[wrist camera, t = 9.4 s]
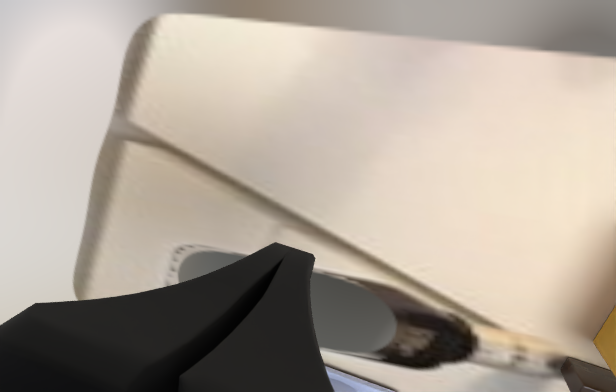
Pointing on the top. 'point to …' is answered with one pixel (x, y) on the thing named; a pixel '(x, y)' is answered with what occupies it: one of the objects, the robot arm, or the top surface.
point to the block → (608, 341)
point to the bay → (587, 377)
